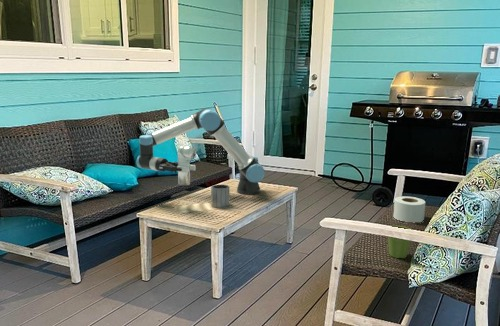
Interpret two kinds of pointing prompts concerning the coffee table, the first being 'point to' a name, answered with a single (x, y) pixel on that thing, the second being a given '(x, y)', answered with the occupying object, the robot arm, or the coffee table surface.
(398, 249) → the plant pot
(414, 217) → the toilet paper roll
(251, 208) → the coffee table surface
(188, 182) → the polished capsule rod
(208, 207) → the birch board
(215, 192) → the grey wooden bucket
